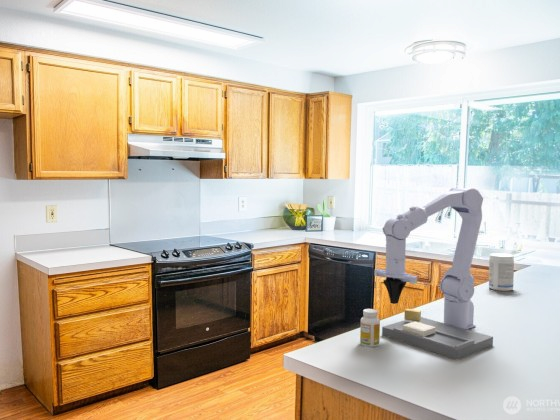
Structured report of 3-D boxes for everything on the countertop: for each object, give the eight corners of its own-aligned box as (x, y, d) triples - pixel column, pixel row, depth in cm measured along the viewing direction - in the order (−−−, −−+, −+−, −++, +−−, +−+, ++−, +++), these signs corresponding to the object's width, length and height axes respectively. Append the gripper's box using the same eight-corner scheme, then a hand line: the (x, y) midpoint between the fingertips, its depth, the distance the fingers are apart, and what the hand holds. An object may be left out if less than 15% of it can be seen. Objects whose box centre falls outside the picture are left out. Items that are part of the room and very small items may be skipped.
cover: (415, 326, 144) (415, 321, 144) (435, 332, 139) (435, 326, 139) (402, 330, 141) (402, 324, 140) (423, 336, 135) (423, 330, 135)
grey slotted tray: (418, 323, 156) (418, 313, 156) (492, 345, 137) (493, 333, 136) (382, 334, 145) (382, 323, 145) (457, 360, 125) (457, 346, 125)
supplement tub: (516, 289, 206) (518, 255, 205) (508, 292, 199) (509, 257, 198) (493, 285, 213) (494, 252, 212) (484, 288, 206) (485, 254, 205)
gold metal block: (420, 322, 149) (420, 310, 148) (419, 324, 147) (419, 312, 147) (406, 320, 151) (406, 308, 151) (404, 321, 149) (404, 310, 149)
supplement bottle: (376, 340, 140) (377, 307, 139) (381, 347, 134) (382, 313, 134) (358, 340, 140) (359, 307, 139) (362, 347, 134) (362, 313, 134)
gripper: (368, 256, 148) (367, 300, 149) (407, 263, 137) (405, 310, 138) (383, 254, 153) (382, 296, 154) (422, 261, 141) (420, 306, 142)
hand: (394, 303), depth 146 cm, fingers closed
